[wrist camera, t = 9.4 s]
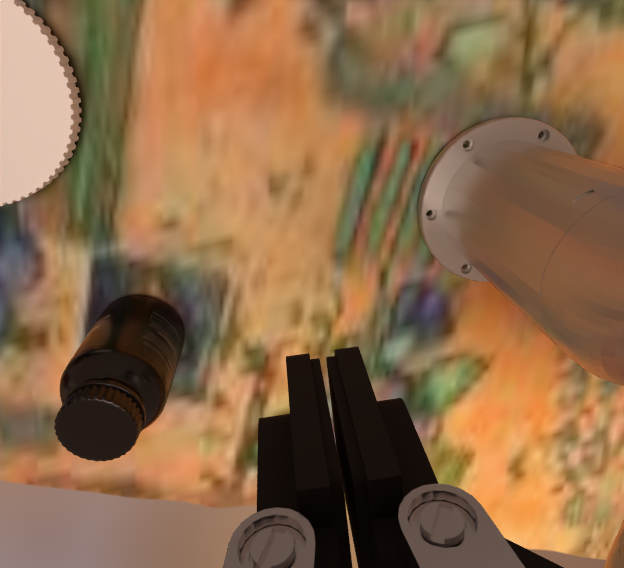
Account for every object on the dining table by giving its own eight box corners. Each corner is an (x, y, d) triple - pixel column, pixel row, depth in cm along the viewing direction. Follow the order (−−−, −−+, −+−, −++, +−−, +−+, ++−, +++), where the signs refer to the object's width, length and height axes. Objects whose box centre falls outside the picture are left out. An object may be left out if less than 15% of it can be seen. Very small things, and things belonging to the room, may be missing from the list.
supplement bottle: (92, 293, 39) (23, 382, 28) (181, 292, 39) (150, 378, 28) (105, 369, 41) (47, 477, 30) (188, 366, 42) (162, 472, 31)
